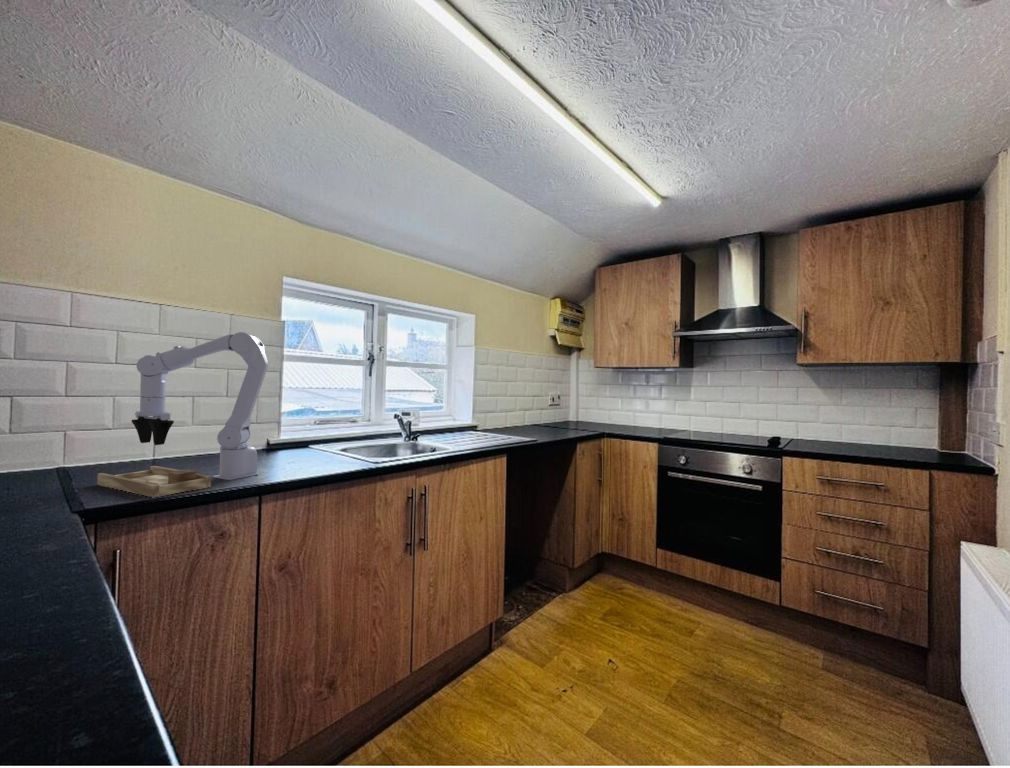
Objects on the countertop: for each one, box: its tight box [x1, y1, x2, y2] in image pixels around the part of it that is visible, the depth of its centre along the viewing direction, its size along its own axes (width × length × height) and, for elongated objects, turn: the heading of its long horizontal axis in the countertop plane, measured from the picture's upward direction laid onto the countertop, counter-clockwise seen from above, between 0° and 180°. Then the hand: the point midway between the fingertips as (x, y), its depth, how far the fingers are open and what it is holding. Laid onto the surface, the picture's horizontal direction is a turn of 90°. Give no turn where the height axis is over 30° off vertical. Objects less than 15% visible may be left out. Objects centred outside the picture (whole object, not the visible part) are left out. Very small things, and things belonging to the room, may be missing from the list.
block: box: [168, 469, 197, 484], centre depth 115 cm, size 4×4×3 cm
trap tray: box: [96, 465, 212, 497], centre depth 117 cm, size 13×28×3 cm, turn 64°
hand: (152, 443), depth 125 cm, fingers open, 7 cm apart
